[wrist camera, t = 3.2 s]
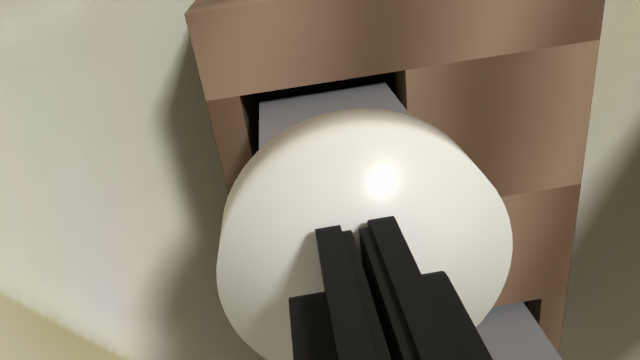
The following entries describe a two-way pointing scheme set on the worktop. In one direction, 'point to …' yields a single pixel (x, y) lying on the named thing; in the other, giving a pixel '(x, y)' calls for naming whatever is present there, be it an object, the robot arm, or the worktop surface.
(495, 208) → the white button
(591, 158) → the worktop surface
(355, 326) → the robot arm
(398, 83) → the button panel
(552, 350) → the orange button
